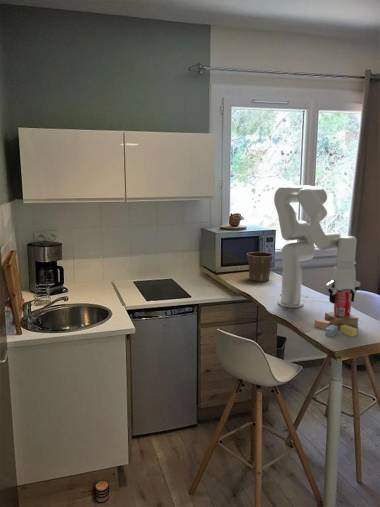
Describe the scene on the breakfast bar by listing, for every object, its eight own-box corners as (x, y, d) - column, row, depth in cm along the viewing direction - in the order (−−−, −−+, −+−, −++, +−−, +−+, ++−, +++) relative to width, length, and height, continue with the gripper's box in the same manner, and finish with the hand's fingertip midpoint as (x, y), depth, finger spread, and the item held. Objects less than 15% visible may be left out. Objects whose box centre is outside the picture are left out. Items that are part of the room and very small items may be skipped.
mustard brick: (340, 332, 189) (340, 325, 188) (344, 331, 191) (345, 324, 190) (351, 337, 184) (352, 330, 183) (356, 335, 186) (357, 328, 185)
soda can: (346, 312, 202) (348, 287, 199) (352, 317, 195) (354, 291, 192) (331, 312, 201) (333, 287, 199) (336, 318, 194) (338, 291, 192)
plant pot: (241, 277, 282) (242, 252, 279) (264, 275, 286) (265, 251, 283) (252, 283, 266) (253, 257, 263) (276, 281, 271) (278, 255, 268)
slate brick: (332, 337, 184) (332, 330, 183) (325, 335, 186) (325, 328, 185) (337, 333, 188) (338, 326, 188) (330, 331, 190) (331, 324, 190)
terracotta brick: (314, 326, 196) (314, 320, 195) (317, 324, 198) (317, 318, 197) (327, 329, 192) (327, 323, 191) (330, 328, 194) (330, 321, 193)
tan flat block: (324, 321, 202) (325, 312, 201) (343, 319, 205) (344, 311, 204) (337, 329, 192) (338, 320, 192) (357, 326, 195) (358, 318, 195)
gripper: (356, 261, 200) (352, 297, 203) (322, 263, 194) (319, 300, 198) (367, 265, 193) (363, 302, 196) (333, 267, 187) (329, 306, 191)
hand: (341, 301), depth 197 cm, fingers open, 9 cm apart
